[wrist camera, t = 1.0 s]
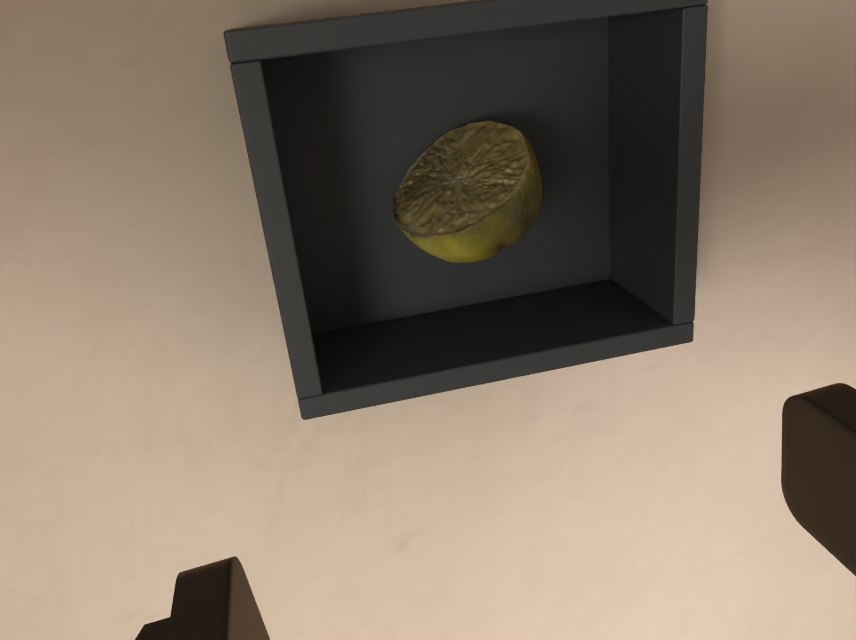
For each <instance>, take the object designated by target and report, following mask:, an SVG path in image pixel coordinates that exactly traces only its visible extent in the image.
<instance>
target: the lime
mask: <svg viewBox="0 0 856 640" xmlns="http://www.w3.org/2000/svg"><path fill="white" fill-rule="evenodd" d="M399 188H400V190H398V192H396V193H395V195H394V197H393V203H394V204H393V206H394V209H393V212H394V217H395V220H396V222H397V224H398V226H399V227H400V229H401V230H402V231H403V233H404V234H405V235H406V236H407V237H408V238H409V239H410V240H411V241H412V242H413V243H414V244H416V245H417V246H418V247H419V248H421V249H423V250H424V251H426V252H427V253H429V254H431V255H433V256H436V257H438V258H440V259H443V260H445V261H448V262H455V263H469V262H476V261H480V260H485V259H488V258H491V257H493V256H494V255H496V254H497V253H498V252H499V251H500V250H501V249H503V248H505V247H507V246H510V245H512V244H514V243H516V242H517V241H519V239H521V238H522V237H523V236H524V235H525V234H526V233H527V231H528V230H529V228H530V227H531V226H532V224H533V223H534V221H535V219H536V217H537V216H538V214H539V210H540V205H541V199H542V180H541V175H540V171H539V168H538V162H537V160H536V156H535V153H534V151H533V148H532V146H531V144H530V143H529V141H528V140H527V138H526V137H525V136H524V134H523V133H522V132H521V131H519V130H518V129H517V128H515V127H512V126H509V125H506V124H503V123H498V122H494V121H484V122H478V123H468V124H467V125H466V126H462V127H460V128H456V129H453V130H451V131H450V132H448V133H446V134H444V135H443V136H442V137H440V138H439V139H438V140H437V141H436V142H435V143H434V144H433V145H431V146H430V147H429V148H428V149H427V150H426V151H425V152H424V153H423V154H422V155H421V156H420V157H419V158H418V159H417V160H416V162H415V163H414V164H413V165H412V166H411V167H410V168H409V170H408V172H407V173H406V175H405V177H404V179H403V181H402V183H401V184H400V186H399Z"/></svg>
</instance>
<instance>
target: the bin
mask: <svg viewBox="0 0 856 640" xmlns="http://www.w3.org/2000/svg"><path fill="white" fill-rule="evenodd" d="M707 2H708V0H478V1H469V2H461V3H452V4H444V5H435V6H427V7H418V8H410V9H401V10H392V11H384V12H375V13H367V14H358V15H350V16H341V17H332V18H324V19H315V20H307V21H298V22H290V23H281V24H272V25H264V26H255V27H247V28H238V29H231V30H227V31H225V32H224V39H225V44H226V49H227V54H228V59H229V61H230V63H231V65H230V69H231V73H232V78H233V83H234V88H235V93H236V98H237V103H238V108H239V113H240V118H241V123H242V128H243V132H244V137H245V142H246V147H247V152H248V157H249V162H250V167H251V172H252V177H253V182H254V187H255V191H256V196H257V201H258V206H259V211H260V216H261V221H262V226H263V231H264V236H265V241H266V246H267V250H268V255H269V260H270V265H271V270H272V275H273V280H274V285H275V290H276V295H277V300H278V304H279V309H280V314H281V319H282V324H283V329H284V334H285V339H286V344H287V349H288V354H289V359H290V363H291V368H292V373H293V378H294V383H295V388H296V393H297V397H298V403H299V407H300V412H301V417H302V419H303V420H307V419H311V418H316V417H321V416H326V415H331V414H336V413H341V412H346V411H351V410H356V409H361V408H366V407H371V406H376V405H381V404H386V403H391V402H396V401H401V400H406V399H411V398H416V397H421V396H426V395H431V394H435V393H440V392H445V391H450V390H455V389H460V388H465V387H470V386H475V385H480V384H485V383H490V382H495V381H500V380H505V379H510V378H515V377H520V376H525V375H530V374H535V373H540V372H545V371H550V370H555V369H559V368H564V367H569V366H574V365H579V364H584V363H589V362H594V361H599V360H604V359H609V358H614V357H619V356H624V355H629V354H634V353H639V352H644V351H649V350H654V349H659V348H664V347H669V346H674V345H679V344H683V343H688V342H692V341H693V328H694V323H693V321H694V315H695V292H696V269H697V245H698V222H699V199H700V175H701V152H702V129H703V105H704V82H705V59H706V35H707V12H708V6H707V5H705V4H707ZM484 121H494V122H498V123H503V124H506V125H509V126H512V127H515V128H517V129H518V130H519V131H521V132H522V133H523V134H524V136H525V137H526V138H527V140H528V141H529V143H530V144H531V146H532V148H533V151H534V153H535V156H536V160H537V162H538V168H539V171H540V175H541V180H542V199H541V205H540V210H539V214H538V216H537V217H536V219H535V221H534V223H533V224H532V226H531V227H530V228H529V230H528V231H527V233H526V234H525V235H524V236H523V237H522V238H521V239H519V241H517V242H516V243H514V244H512V245H510V246H507V247H505V248H503V249H501V250H500V251H499V252H498V253H497V254H496V255H494V256H493V257H491V258H488V259H485V260H480V261H476V262H469V263H455V262H448V261H445V260H443V259H440V258H438V257H436V256H433V255H431V254H429V253H427V252H426V251H424V250H423V249H421V248H419V247H418V246H417V245H416V244H414V243H413V242H412V241H411V240H410V239H409V238H408V237H407V236H406V235H405V234H404V233H403V231H402V230H401V229H400V227H399V226H398V224H397V222H396V220H395V217H394V212H393V209H394V206H393V204H394V203H393V197H394V195H395V193H396V192H398V190H400V188H399V186H400V184H401V183H402V181H403V179H404V177H405V175H406V173H407V172H408V170H409V168H410V167H411V166H412V165H413V164H414V163H415V162H416V160H417V159H418V158H419V157H420V156H421V155H422V154H423V153H424V152H425V151H426V150H427V149H428V148H429V147H430V146H431V145H433V144H434V143H435V142H436V141H437V140H438V139H439V138H440V137H442V136H443V135H444V134H446V133H448V132H450V131H451V130H453V129H456V128H460V127H462V126H466V125H467V124H468V123H478V122H484Z"/></svg>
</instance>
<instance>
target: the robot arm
mask: <svg viewBox="0 0 856 640" xmlns="http://www.w3.org/2000/svg"><path fill="white" fill-rule="evenodd" d="M781 484H782V491H783V495H784V498H785V501H786V503H787V505H788V507H789V509H790V511H791V513H792V514H793V516H794V517H795V519H796V520H797V521H798V523H799V524H800V525H801V526H802V527H803V528H804V529H805V530H807V531H808V532H809V533H810V534H811V535H812V536H813V537H814V538H815V539H816V540H817V541H818V542H819V543H821V544H822V545H823V546H824V547H825V548H826V549H827V550H828V551H829V552H830V553H831V554H832V555H833V556H835V557H836V558H837V559H838V560H839V561H840V562H841V563H842V564H843V565H844V566H845V567H846V568H847V569H849V570H850V571H851V572H852V573H853V574H854V575H855V576H856V389H854V388H852V387H851V386H849V385H846V384H843V383H836V384H832V385H829V386H826V387H822V388H819V389H815V390H812V391H808V392H805V393H801V394H798V395H795V396H791V397H789V398H788V399H787V400H786V401H785V403H784V406H783V412H782V470H781ZM135 640H270V638H269V636H268V633H267V630H266V628H265V625H264V622H263V620H262V617H261V614H260V612H259V609H258V606H257V604H256V601H255V598H254V596H253V593H252V591H251V588H250V585H249V583H248V580H247V577H246V575H245V572H244V569H243V567H242V565H241V563H240V561H239V559H238V558H237V557H231V558H228V559H224V560H221V561H217V562H214V563H211V564H207V565H204V566H200V567H197V568H193V569H190V570H186V571H183V572H180V573H179V574H178V576H177V579H176V584H175V591H174V597H173V604H172V610H171V616H170V617H169V618H166V619H162V620H159V621H156V622H152V623H149V624H146V625H144V626H143V628H142V629H141V631H140V633H139V634H138V636H137V637H136V639H135Z"/></svg>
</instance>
